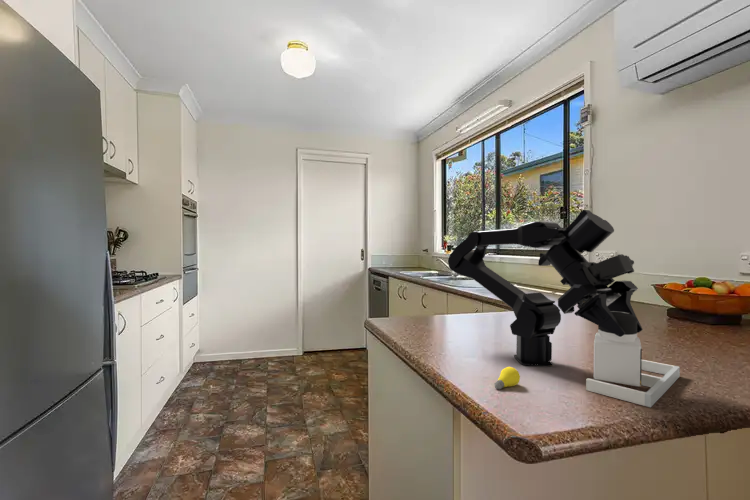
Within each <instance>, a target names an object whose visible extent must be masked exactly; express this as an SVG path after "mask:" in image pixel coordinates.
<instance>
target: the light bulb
mask: <svg viewBox="0 0 750 500" xmlns="http://www.w3.org/2000/svg"><path fill="white" fill-rule="evenodd" d="M499 374H500V375H499V376H498V379H497V381H495V382H494V388H495V389H496V390H502V389H503V388H506V387H508V388H509V387H510V388H511V387H515V386H516V385H518V384H519V383H520V379H521V375H520V373H519V370H517V369H516V368H515V367H512V366H506V367H505V368H503V369H502V370H501V371H500V373H499Z"/></svg>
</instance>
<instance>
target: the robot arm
mask: <svg viewBox="0 0 750 500" xmlns="http://www.w3.org/2000/svg"><path fill="white" fill-rule="evenodd" d="M614 232H615V229H614V227H613V226H612V224H611V223H610V222H608V220H606V219H603V218H602V217H601V216H598V215H597V214H594V213H593V212H592V211H591V210H589V209H582V210H581V211H580V212H579V213H578V214H577V216H576V218H574V220H573V221H572V222H571V223H570V224H569V225H568V226H567V227H561V226H560V224H559V223H557V222H550V221H549V222H548V221H532V222H528V223H525V224H522V225H520V226H518V227H515V228H505V229H493V230H473V231H471V232H470V233H469V234H468V236H467V237H466V238H465V239H464V240H462V242H460V243H459V244H458V245H456V247H455V248H454V249H453V251H452V252H451V253H450V254H449V256H448V259H447V260H448V261H447V264H448V268H449V270H450V271H451V272H453V273H455V274H457V275H460V276H463V277H466V278H469V279H472V280H474V281H475V282H476V283H478V284H479V285H480V286H482V288H484V289H486V290H487V291H488V292H489V293H491V294H492V295H494V296H495V297H496V298H497V299H499V300H500V301H501V302H503V303H504V304H506V305H507V306H509V307H510V308H511V309H512V311H513V313H514V316H515V318H516V319H515V320H514V321H513V322H511V323H510V325H509V327H510V331H511V333H512V336H516V354H513V357H514V359H515V360H517V361H518V362H519V364H521V365H523V366H546V367H547V366H548V367H552V366H553V362H551V361H552V358H553V357H552V356H553V355H552V354H553V353H552V352H553V343H552V341H550V335H554V333H555V330H556V327H558V326H559V325H560V324H561V321H562V314H561V312H562V313H563V314H565V315H566V314H572V313H574V315H575V316H577V317H580V318H582V319H584V320H587V321H589V322H590V323H592V324H594V325H597V327H598V326H600V327H602V328H604V329H606V330H608V331H610V332H612V333H613V334H615V335H617V336H619V337H622V336H623V335H625V332H624V330H623V328H622V327H621V325H620V324H619V323H618V321H617V320H616V318H615V317H614V316H613V314H612V313H611V311H617V312H625V313H629V314H632V315H634V316H635V317H636V318H637V334H639V333H641V332H642V331H643V326H642V325H641V323H640V320H639V319H638V317H637V314H636V312H635V311H634V309H633V306H632V304H631V299H632V296H633V295H634V293H635V292H636V291H638V287H637V285H636V284H635V283H633V281H632V280H615V279H614V278H617V277H620V276H623V275H625V274H629V275H630V274H632V273H635V269H634V266H633V265H634V264H635V261H634V260H633V259H631V258H630V256H629V255H624V254H620V253H619V254H617V255H614V256H611V257H610V258H609V257H608V258H606V259H604V260H601V261H599V262H593V261H592V262H591V261H588V260H587V258H585V256H584V255H582V253H585V252H587V253H592V252H594V251H595V250H596V249H597V248H598V247H599V246H601V244H602V243H604V242H605V241H606V240H607V238H609V237H610V236H611V235H612V234H613V233H614ZM499 245H501V246H502V245H519V246H522V247H527V248H534V249H535V248H536V249H548V250H547V251H546V252H542V253H541V252H540V253H539V258H538V264H537V265H538V266H540V267H541V266H546V267H548V266H552V267H553V268H554V270H555V271H556V272H557V273H558V275H560V277H561V278H562V279H561V280H560V282H561V284H562V285H563V286H569V289H568V290H566V291H565V292H564V293H563V294H562V295H561V296H560V297H559V298H557V305H556V304H555V303H556V300H552V299H550V298H548V297H547V296H546V295H545V294H543V293H542V292H539V291H538V292H530V293H529V292H528V293H526V292H524V291H523V290H521V289H520V288H519V287H517V286H515V285H514V284H513V283H511V282H509V281H508V280H507V279H506V278H504V277H502V276H501V275H499V274H498V273H496V272H495V271H494V270H492V269H491V268H489V267H488V266H487V265H486V264H485V260H484V258H485V257H486V253H487V249H488V247H489V246H499ZM575 306H577V308H578V310H576V311H575ZM560 311H561V312H560Z"/></svg>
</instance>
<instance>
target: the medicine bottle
mask: <svg viewBox="0 0 750 500" xmlns="http://www.w3.org/2000/svg"><path fill="white" fill-rule="evenodd" d="M611 313H612V314H613V316H614V317H615V318H616V320H617V321H618V323H619V324H620V325H621V327H622V328H623V330H624V332H625V335H623V336H622V337H619V336H617V335H615V334H613V333H612V332H610V331H608V330H606V329H604V328H602V327H600V326H598V325H597V327H598V328H597V329H598V330H597V332H596V333H595V336H594V341H593V380H598V381H602V382H608V383H616V384H620V385H621V384H623V385H625V386H626V385H628V386H633V387H637V388H640V387H641V386H642V385H641V373H642V370H641V364H642V360H643V359H642V358H643V357H642V353H643V352H642V351H643V350H642V349H643V348H642V347H643V346H642V344H641V340H640V339H641V338H640V337H638V333H637V319H638V317H637V316H636V317H637V318H636V317H635V316H634V315H632V314H629V313H625V312H617V311H611Z"/></svg>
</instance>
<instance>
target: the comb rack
mask: <svg viewBox="0 0 750 500" xmlns="http://www.w3.org/2000/svg"><path fill="white" fill-rule="evenodd" d="M680 369H681V368H680V366H678V365H672V364H667V363H661V362H656V361H651V360H646V359H642V364H641V371H645V372H651V373H654V374H655V373H656V374H660V375H663V376H662V377H661V376H657V375H656V376H655V375H651V374H647V373H642V372H641V386H644V387H647V388H649V389H648V390H647V391H642V390H637V389H633V388H629V387H625V386H622V385H617V384H614V383H611V382H607V381H603V380H597V379H594V378H589V377H588V378H586V380H585V391H588V392H592V393H595V394H599V395H603V396H607V397H610V398H615V399H617V400H622V401H625V402H629V403H632V404H636V405H640V406H644V407H647V408H652V407H653V406H654V405H655V404H656V402H658V400H659V399H660V398H661V397H662V396H663V395H664V394H665V393H666V392H667V391H668V390H669V389H670V387H671V386H672V385H673V384H674V383H675V382H676V381H677V380H678V379H679V378H680V374H681V373H680V371H681V370H680Z"/></svg>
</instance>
